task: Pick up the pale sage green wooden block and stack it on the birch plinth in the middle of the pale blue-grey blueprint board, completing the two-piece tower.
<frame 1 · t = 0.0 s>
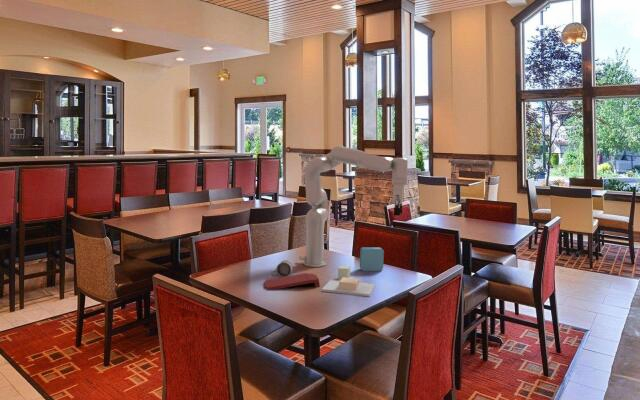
hand: (397, 214, 242), 31 cm above the table, tool pointing down, fingers open, 9 cm apart
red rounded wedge: (291, 286, 218), on the table
blueprint board: (349, 288, 215), on the table
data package: (371, 270, 249), on the table
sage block: (343, 279, 231), on the table
ceramic mug: (282, 275, 234), on the table
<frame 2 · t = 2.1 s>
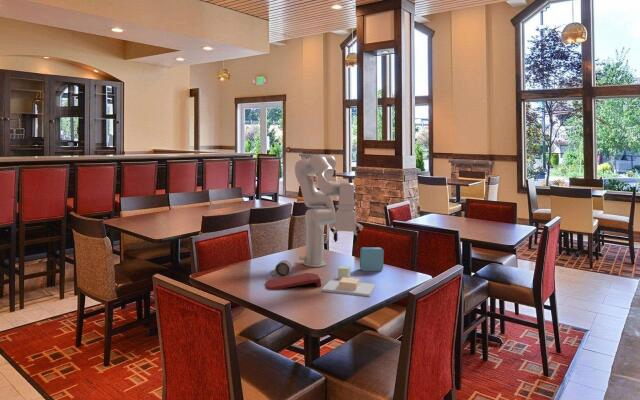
hand: (345, 242, 228), 19 cm above the table, tool pointing down, fingers open, 9 cm apart
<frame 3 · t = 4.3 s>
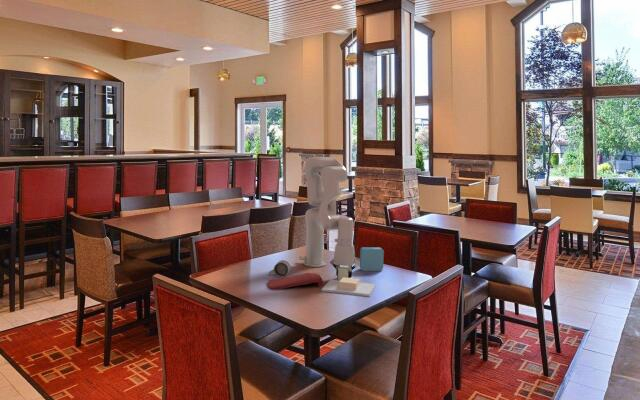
hand: (343, 277, 231), 1 cm above the table, tool pointing down, fingers closed on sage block, 5 cm apart
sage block: (343, 278, 231), on the table, touching gripper
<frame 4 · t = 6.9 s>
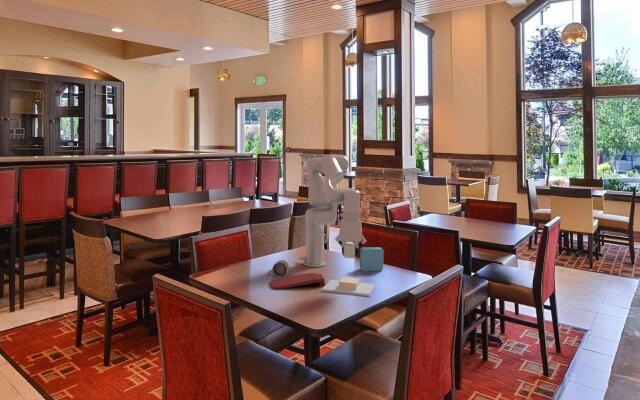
hand: (350, 255, 213), 16 cm above the table, tool pointing down, fingers closed on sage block, 4 cm apart
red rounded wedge: (297, 286, 219), on the table
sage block: (350, 256, 213), point 15 cm above the table, touching gripper
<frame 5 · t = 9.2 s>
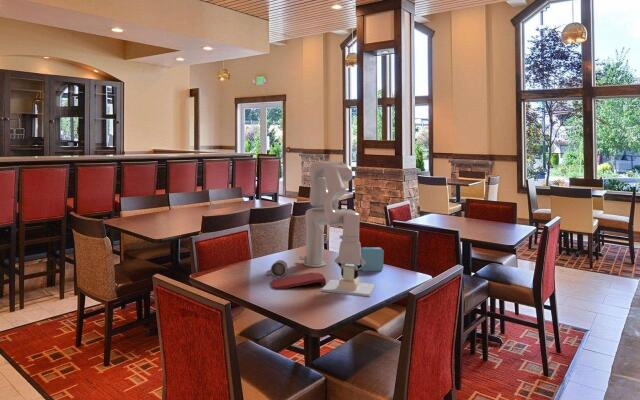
hand: (349, 277, 214), 6 cm above the table, tool pointing down, fingers closed on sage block, 4 cm apart
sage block: (349, 278, 214), point 5 cm above the table, touching gripper
when the fingers open (6 cm above the table, at t = 9.6 s): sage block stays where it is, resting on blueprint board.
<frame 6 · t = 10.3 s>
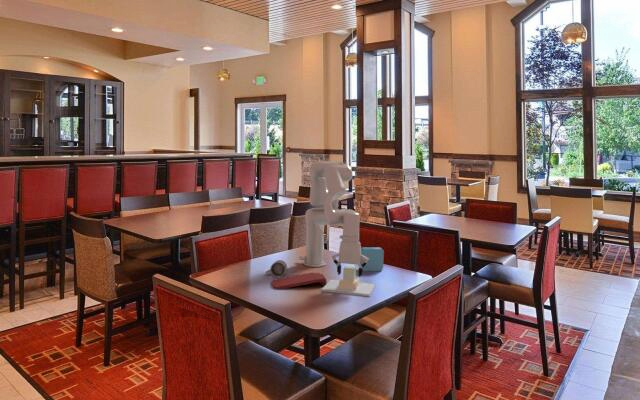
hand: (349, 275, 214), 6 cm above the table, tool pointing down, fingers open, 9 cm apart
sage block: (349, 280, 214), point 4 cm above the table, touching blueprint board
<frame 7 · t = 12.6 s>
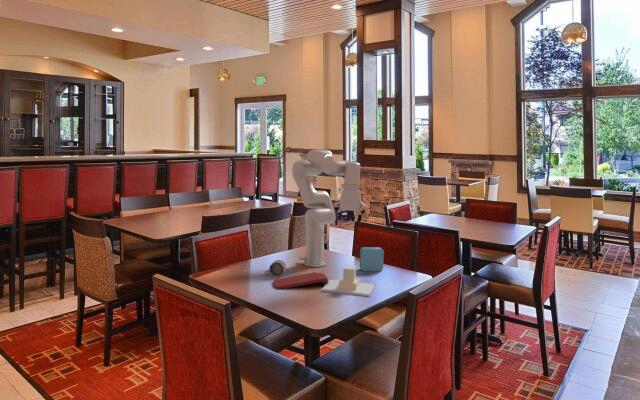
hand: (349, 221, 230), 29 cm above the table, tool pointing down, fingers open, 9 cm apart
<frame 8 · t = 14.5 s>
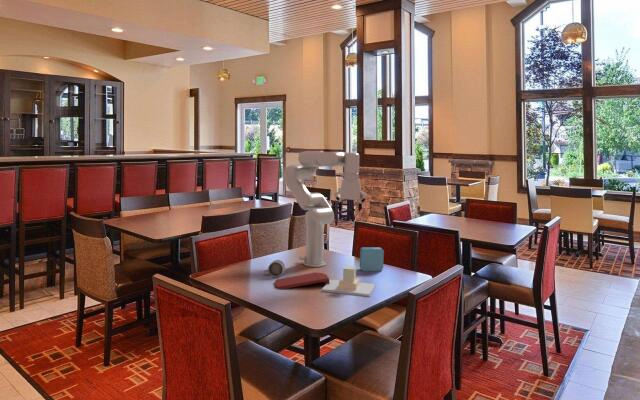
hand: (350, 210, 237), 33 cm above the table, tool pointing down, fingers open, 9 cm apart
at the end: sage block 0.0 cm off-centre on the blueprint board, point 4.0 cm above the blueprint board's base; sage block tilted 0°; the gripper is holding nothing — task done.
